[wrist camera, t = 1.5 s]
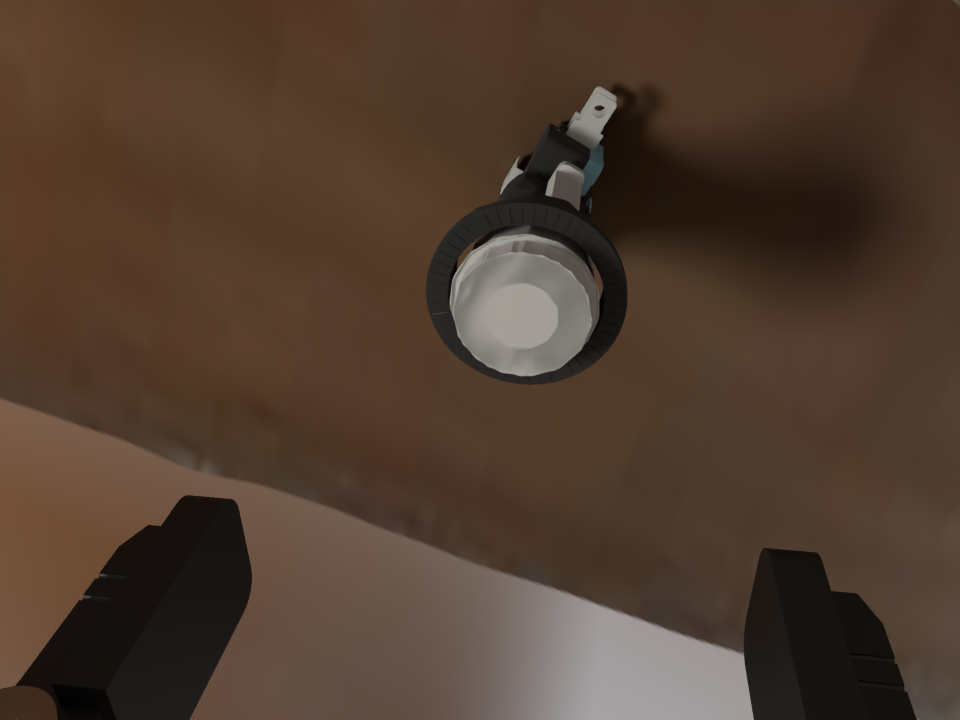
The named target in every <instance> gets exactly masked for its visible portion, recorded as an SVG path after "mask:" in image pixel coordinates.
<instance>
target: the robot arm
mask: <svg viewBox="0 0 960 720" xmlns="http://www.w3.org/2000/svg"><path fill="white" fill-rule="evenodd" d="M251 583H252V571H251V565H250V560H249V555H248V551H247V546H246V541H245V536H244V531H243V527H242V522H241V518H240V513H239V508H238V505H237V503H236V502H235V501H234V500H233V499H224V498H214V497H201V496H191V495H187V496H184V497H182V498H181V499H180V500H179V501H178V503H177V504H176V505H175V507H174V508H173V510H172V511H171V513H170V514H169V516H168V517H167V518H166V520H165V521H164V523H163V524H162V525H161V526H153V525H148V526H146V527H145V528H144V529H142V530H141V531H139V532H138V533H137V534H135V535H134V536H133V537H132V538H130V539H129V540H127V541H126V542H125V543H123V544H122V545H121V546H119V547H118V549H117V550H116V551H115V553H114V554H113V555H112V557H111V558H110V559H109V561H108V562H107V563H106V565H105V566H104V568H103V569H102V570H101V572H100V573H99V578H98V579H95V580H94V581H93V582H92V584H91V585H90V586H89V588H88V589H87V590H86V592H85V593H84V596H83V600H82V601H81V600H79V601H78V603H77V604H76V605H75V607H74V608H73V609H72V611H71V612H70V614H69V615H68V616H67V618H66V619H65V620H64V622H63V623H62V624H61V626H60V627H59V628H58V630H57V631H56V632H55V634H54V635H53V636H52V638H51V639H50V640H49V642H48V643H47V644H46V646H45V647H44V648H43V650H42V651H41V653H40V654H39V655H38V657H37V658H36V659H35V661H34V662H33V663H32V665H31V666H30V667H29V669H28V670H27V671H26V673H25V674H24V676H23V677H22V678H21V680H20V681H19V682H18V683H17V684H16V686H12V687H8V688H3V689H0V720H189V719H190V717H191V715H192V713H193V711H194V709H195V708H196V706H197V704H198V702H199V700H200V698H201V696H202V694H203V692H204V689H205V688H206V686H207V684H208V682H209V680H210V678H211V676H212V674H213V672H214V670H215V668H216V666H217V664H218V662H219V660H220V658H221V656H222V654H223V652H224V650H225V648H226V646H227V644H228V642H229V640H230V638H231V636H232V635H233V632H234V631H235V629H236V626H237V624H238V623H239V621H240V619H241V617H242V615H243V613H244V611H245V608H246V606H247V603H248V600H249V596H250V590H251ZM744 658H745V667H746V673H747V680H748V685H749V692H750V699H751V704H752V711H753V717H754V720H917V719H916V716H915V713H914V711H913V708H912V705H911V702H910V699H909V696H908V694H907V692H905V691H904V682H903V679H902V677H901V674H900V671H899V668H898V665H897V664H895V662H894V658H895V657H894V654H893V651H892V648H891V646H890V643H889V640H888V637H887V634H886V631H885V629H884V626H883V624H882V622H881V621H880V620H879V619H878V618H877V616H876V615H875V614H874V613H873V612H872V611H871V609H870V608H869V607H868V606H867V605H866V604H865V602H864V601H863V600H862V599H861V598H860V596H859V595H858V594H856V593H846V592H835V591H831V589H830V586H829V582H828V579H827V576H826V572H825V569H824V566H823V562H822V560H821V557H820V555H819V554H818V553H815V552H804V551H793V550H781V549H770V548H764V549H762V551H761V554H760V557H759V561H758V566H757V570H756V575H755V580H754V584H753V589H752V593H751V598H750V603H749V607H748V612H747V616H746V622H745V630H744Z"/></svg>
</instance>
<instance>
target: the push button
mask: <svg viewBox="0 0 960 720" xmlns="http://www.w3.org/2000/svg"><path fill="white" fill-rule="evenodd" d="M616 100H617V99H616V96H615V95H614V94H612V93H610V92H609V91H607V90H606V89H604V88H602V87H601V86H598V87H596V88H595V90H594V92H593V93H592V95H591V97H590V98H589V100H588V101H587V103H586V105H585V106H584V108H583V110H582V111H581V113H578V112H577V111H576V112H575V114H574V116H573V117H572V119H571V121H570V122H569V124H568V125H567V124H566V123H564V122H561V123H560V124H559V126H558V127H556V126H554V125H553V124H549V126H548V127H547V129H546V130H545V132H544V134H543V135H542V137H541V139H540V141H539V143H538V145H537V147H536V149H535V151H534V153H533V155H532V157H531V159H530V161H529V163H528V165H527V167H526V168H525V170H524V171H523V170H521V169H519V168H518V165H519V162H520V159H521V156H520V155H519V157H518V158H517V160H516V162H515V163H514V165H513V167H512V168H511V170H510V172H509V173H508V175H507V177H506V179H505V181H504V183H503V186H502V189H501V192H500V194H501V196H500V198H499V200H498V202H494V203H491V204H488V205H485V206H482V207H479V208H476V209H475V210H474V211H473V212H471V213H470V214H468V215H467V216H465V217H464V218H462V219H461V220H460V221H459V222H457V223H456V224H455V225H454V226H453V227H452V228H451V229H450V230H449V232H448V233H447V234H446V235H445V237H444V238H443V239H442V241H441V243H440V244H439V246H438V248H437V250H436V252H435V254H434V257H433V259H432V261H431V264H430V267H429V271H428V276H427V284H426V297H427V304H428V309H429V313H430V317H431V319H432V322H433V324H434V326H435V328H436V330H437V332H438V334H439V336H440V337H441V339H442V340H443V342H444V343H445V344H446V345H447V347H448V348H449V349H450V350H451V351H452V352H453V353H454V354H455V355H456V356H457V357H458V358H459V359H461V360H462V361H463V362H464V363H466V364H467V365H469V366H470V367H472V368H473V369H475V370H477V371H479V372H480V373H482V374H485V375H487V376H489V377H492V378H495V379H498V380H501V381H505V382H510V383H516V384H529V385H531V384H545V383H552V382H556V381H560V380H563V379H566V378H569V377H572V376H574V375H576V374H578V373H580V372H582V371H584V370H585V369H587V368H588V367H590V366H591V365H593V364H594V363H595V362H597V361H598V360H599V359H600V358H601V357H602V356H603V355H604V354H605V353H606V352H607V351H608V350H609V348H610V347H611V345H612V344H613V343H614V341H615V339H616V338H617V336H618V334H619V332H620V330H621V327H622V325H623V322H624V318H625V315H626V309H627V281H626V276H625V271H624V268H623V265H622V261H621V259H620V257H619V255H618V253H617V251H616V249H615V247H614V246H613V244H612V243H611V241H610V240H609V238H608V237H607V236H606V235H605V234H604V233H603V232H602V231H601V230H600V229H599V227H598V226H596V225H595V224H594V223H593V222H592V221H590V220H589V218H590V212H591V208H592V198H591V197H590V198H589V199H588V200H587V202H586V203H585V205H584V204H583V203H581V200H582V199H583V197H584V196H585V194H586V193H587V191H588V190H589V188H590V187H591V185H592V186H593V184H594V183H595V181H596V180H597V178H598V176H599V175H600V173H601V171H602V169H603V167H604V162H603V153H604V147H603V146H602V145H600V144H599V142H600V141H601V139H602V137H603V135H602V134H601V132H602V130H603V129H604V128H603V127H604V126H605V124H606V123H607V121H608V120H609V118H610V116H611V115H612V113H613V112H614V110H615V109H616V107H617V105H616ZM598 105H602V106H603V107H604V109H603V110H601V111H599V110H596V109H595V108H594V107H595V106H598ZM475 240H476V242H475V245H474V247H473V250H472V252H471V253H470V254H469V255H468V256H467V257H466V258H465V260H464V261H463V263H462V264H461V266H460V267H459V269H458V270H457V261H458V257H459V256H460V255H461V253H462V252H463V251H464V250H465V249H466V248H467V247H468V246H469V245H470V244H471V243H472V242H474V241H475ZM592 261H593V262H594V264H595V265H596V267H597V269H598V271H599V273H600V276H601V279H602V282H603V287H604V288H603V293H602V295H601V298H600V300H599V291H598V286H597V284H596V282H595V280H594V270H595V269H594V266H593V262H592Z"/></svg>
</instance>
